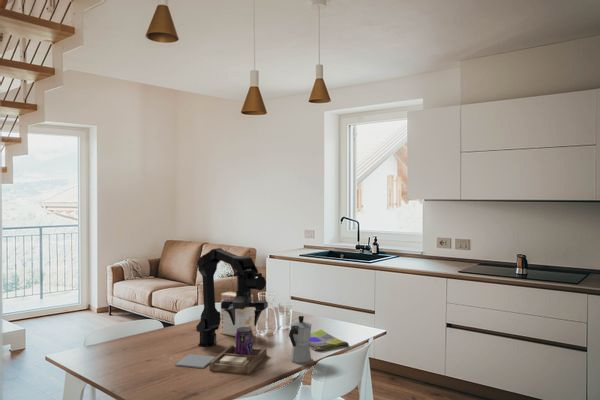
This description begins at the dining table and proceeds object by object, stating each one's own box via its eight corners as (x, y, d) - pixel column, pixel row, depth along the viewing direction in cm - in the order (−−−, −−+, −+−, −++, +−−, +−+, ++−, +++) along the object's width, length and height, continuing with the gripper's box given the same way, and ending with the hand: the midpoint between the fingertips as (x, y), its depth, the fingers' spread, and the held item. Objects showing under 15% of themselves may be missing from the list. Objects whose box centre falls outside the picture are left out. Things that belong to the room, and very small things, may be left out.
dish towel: (323, 333, 234) (323, 328, 234) (350, 348, 212) (350, 341, 212) (291, 338, 226) (291, 332, 225) (316, 353, 204) (316, 347, 204)
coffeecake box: (253, 335, 228) (253, 294, 228) (243, 338, 222) (244, 297, 222) (229, 330, 236) (229, 291, 236) (219, 333, 230) (220, 293, 230)
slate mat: (175, 365, 186) (175, 364, 186) (189, 355, 198) (189, 354, 198) (203, 368, 184) (203, 366, 184) (215, 358, 195) (215, 356, 195)
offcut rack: (209, 370, 182) (209, 362, 182) (230, 351, 203) (230, 344, 203) (248, 374, 178) (249, 366, 178) (266, 355, 200) (266, 348, 200)
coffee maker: (299, 353, 202) (299, 311, 202) (317, 357, 197) (318, 314, 197) (280, 364, 189) (280, 319, 189) (299, 368, 185) (299, 322, 184)
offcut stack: (218, 369, 184) (218, 360, 184) (224, 364, 190) (224, 355, 190) (245, 372, 181) (245, 362, 181) (250, 366, 187) (250, 357, 187)
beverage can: (245, 362, 191) (245, 332, 191) (231, 358, 195) (231, 329, 195) (255, 357, 197) (256, 328, 197) (242, 354, 201) (242, 325, 201)
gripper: (215, 290, 190) (216, 329, 190) (260, 291, 186) (260, 331, 186) (225, 285, 201) (226, 322, 201) (267, 286, 197) (268, 324, 197)
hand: (244, 325), depth 196 cm, fingers open, 9 cm apart
